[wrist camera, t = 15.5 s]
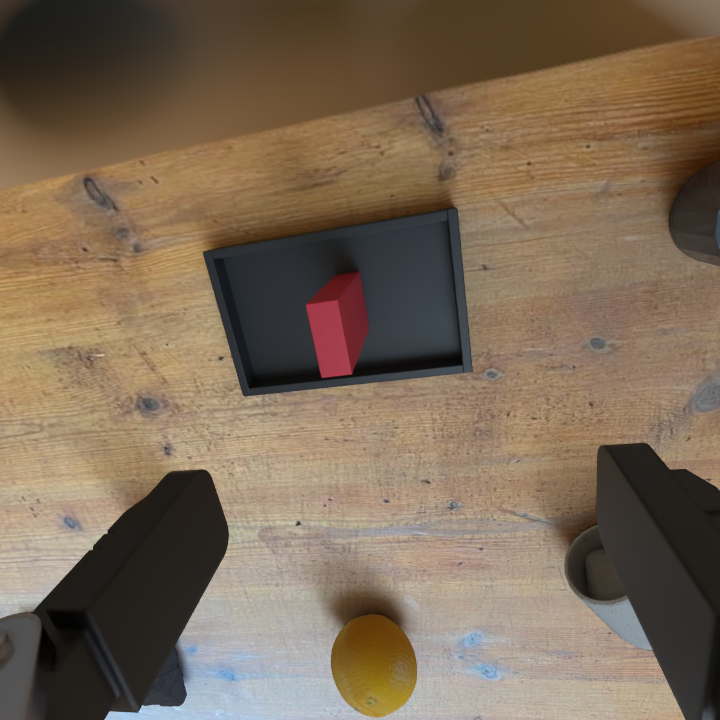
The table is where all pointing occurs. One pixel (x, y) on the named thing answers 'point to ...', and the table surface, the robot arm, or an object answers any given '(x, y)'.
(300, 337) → the tray
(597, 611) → the ceramic mug
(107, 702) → the robot arm
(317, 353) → the block
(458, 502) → the table surface
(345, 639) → the fruit
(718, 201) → the cup
